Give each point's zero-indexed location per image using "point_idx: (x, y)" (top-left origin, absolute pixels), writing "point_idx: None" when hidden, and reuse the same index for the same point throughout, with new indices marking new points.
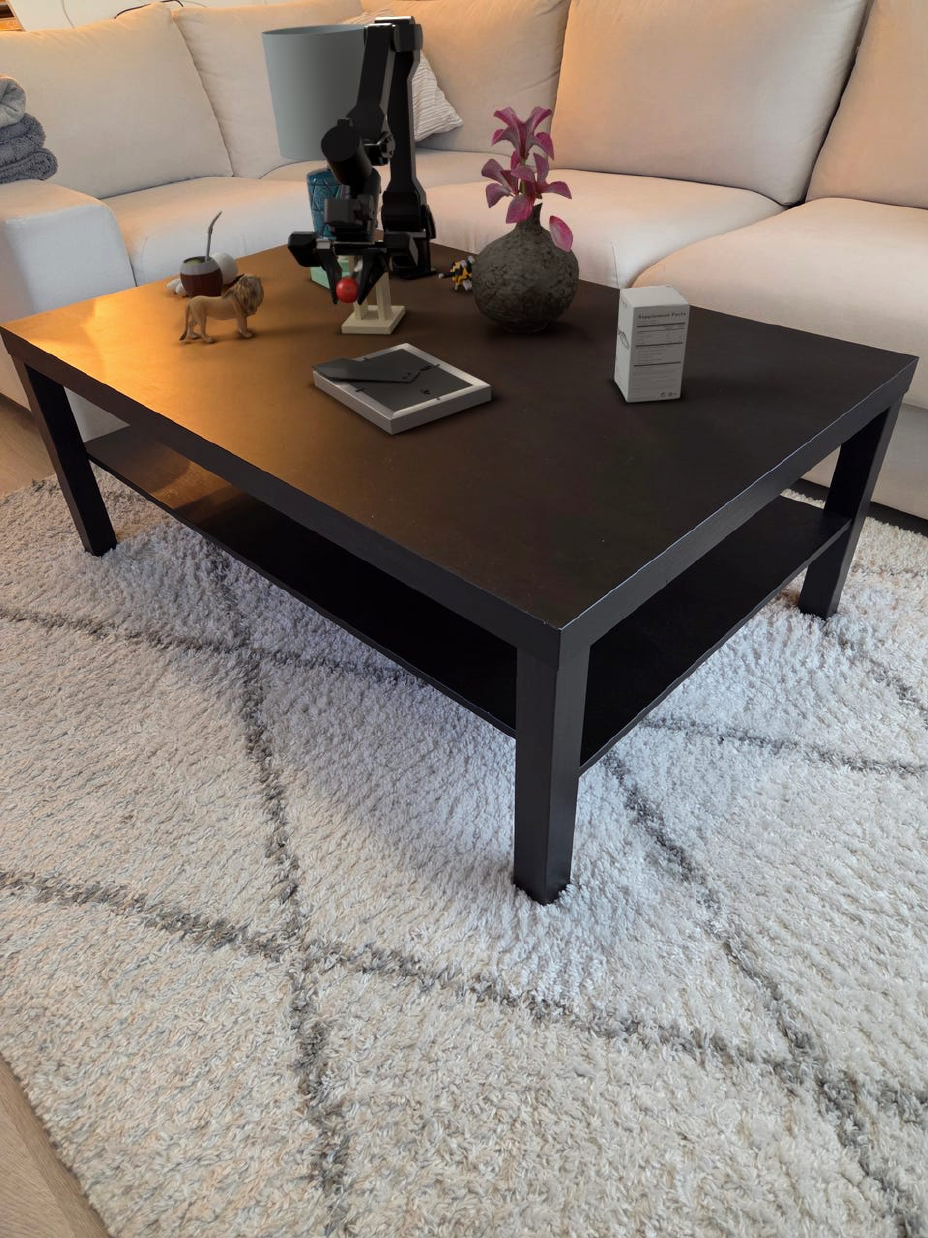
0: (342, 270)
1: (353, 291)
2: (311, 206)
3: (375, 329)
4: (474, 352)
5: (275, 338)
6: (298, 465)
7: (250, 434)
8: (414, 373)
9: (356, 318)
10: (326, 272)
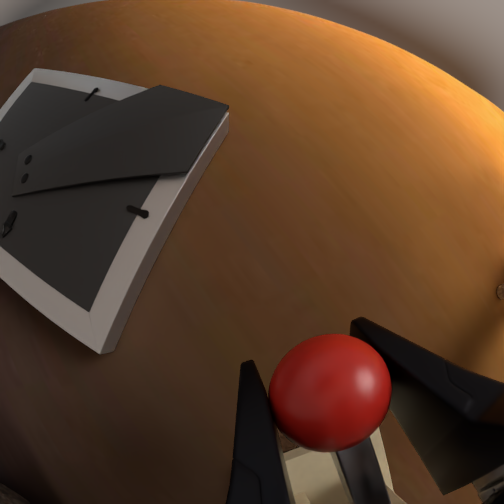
0: (441, 490)
1: (277, 371)
2: None
3: (286, 456)
4: (19, 408)
5: (467, 311)
6: (124, 9)
7: (217, 15)
8: (17, 184)
9: None
10: (470, 371)
